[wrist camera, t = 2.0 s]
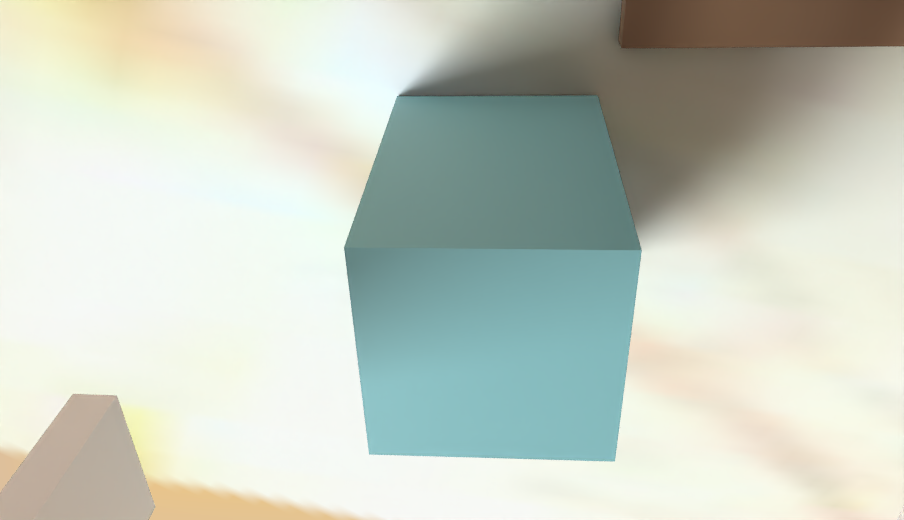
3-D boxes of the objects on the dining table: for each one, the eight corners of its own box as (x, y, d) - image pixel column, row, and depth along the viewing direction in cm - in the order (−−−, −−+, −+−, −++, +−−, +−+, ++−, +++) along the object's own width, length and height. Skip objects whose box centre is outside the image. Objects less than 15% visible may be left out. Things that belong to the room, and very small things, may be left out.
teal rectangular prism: (408, 263, 23) (369, 454, 16) (397, 96, 20) (344, 247, 13) (584, 265, 22) (615, 461, 16) (597, 95, 19) (641, 250, 13)
